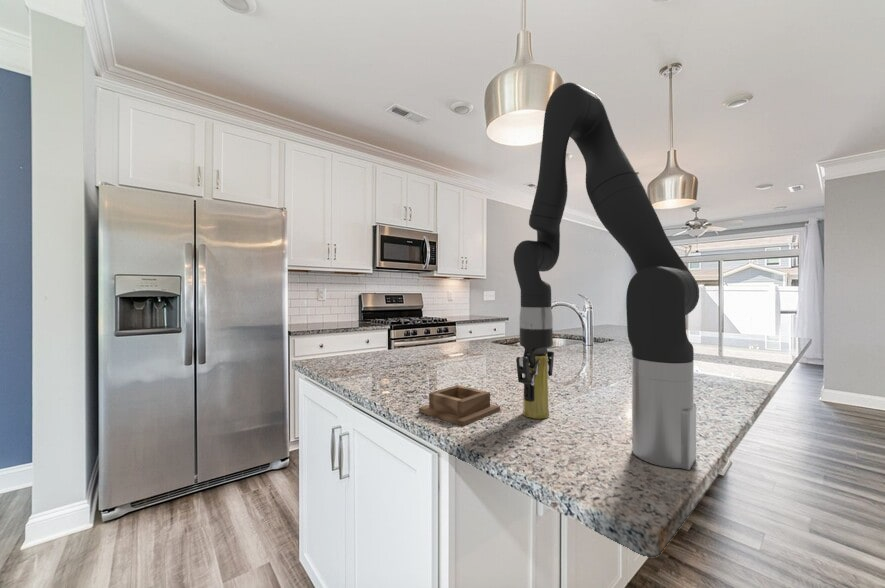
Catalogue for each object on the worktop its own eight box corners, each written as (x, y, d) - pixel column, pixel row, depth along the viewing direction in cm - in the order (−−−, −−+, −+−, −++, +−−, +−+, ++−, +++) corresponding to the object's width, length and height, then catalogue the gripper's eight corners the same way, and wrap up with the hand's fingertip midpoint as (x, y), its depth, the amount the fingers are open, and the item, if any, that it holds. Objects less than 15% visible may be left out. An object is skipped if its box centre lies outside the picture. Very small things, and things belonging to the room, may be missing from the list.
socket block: (500, 410, 90) (500, 392, 90) (463, 426, 79) (463, 405, 79) (456, 399, 99) (456, 382, 99) (418, 411, 89) (418, 393, 89)
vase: (546, 410, 89) (546, 352, 89) (551, 419, 83) (551, 356, 83) (521, 410, 90) (521, 351, 90) (524, 418, 84) (524, 356, 84)
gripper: (535, 329, 79) (535, 408, 79) (564, 325, 89) (564, 394, 89) (505, 327, 84) (505, 401, 84) (536, 323, 94) (536, 389, 94)
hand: (536, 397), depth 86 cm, fingers closed on vase, 5 cm apart
